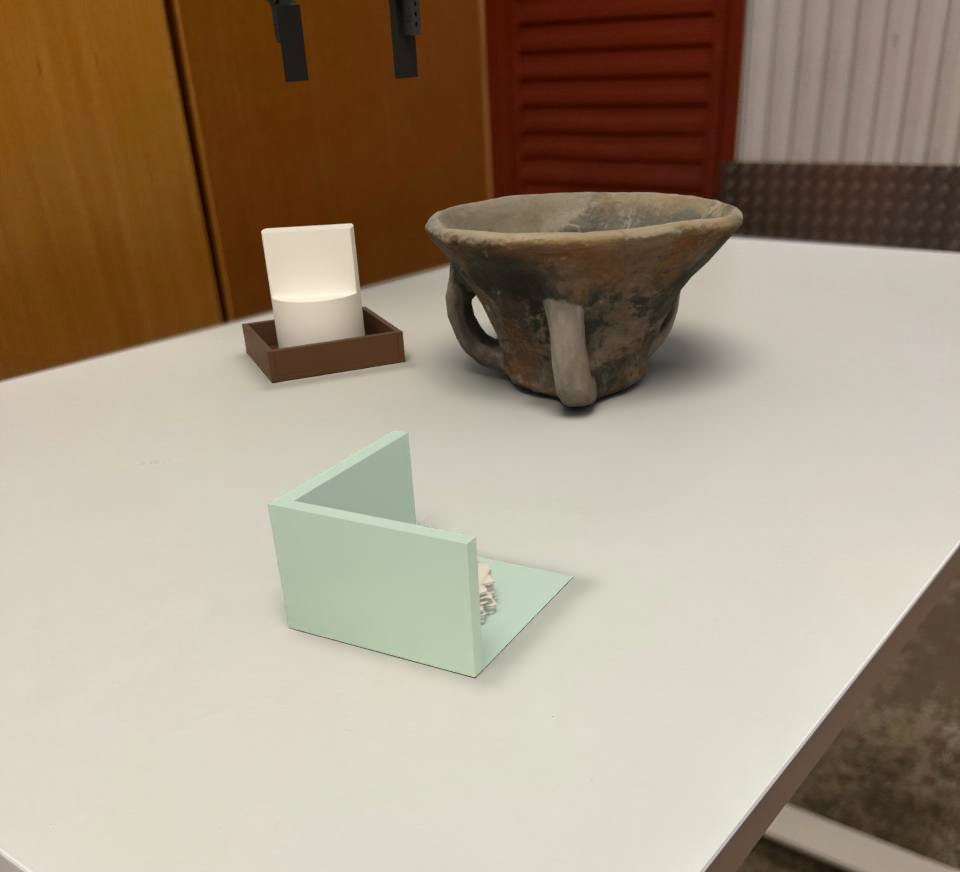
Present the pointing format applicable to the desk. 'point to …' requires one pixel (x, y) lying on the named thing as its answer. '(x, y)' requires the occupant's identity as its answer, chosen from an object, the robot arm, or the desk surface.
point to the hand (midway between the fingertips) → (350, 80)
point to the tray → (324, 350)
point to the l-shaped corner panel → (395, 568)
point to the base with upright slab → (313, 283)
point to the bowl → (575, 282)
